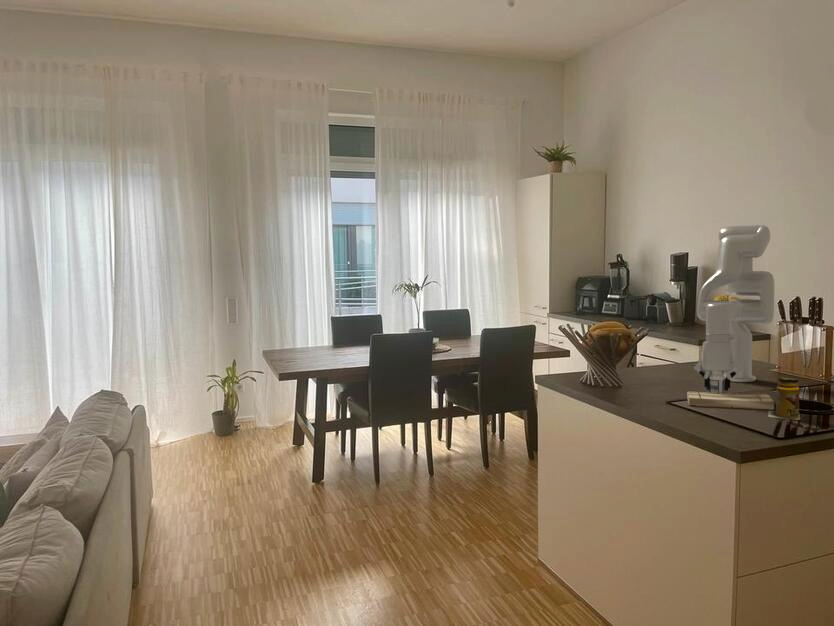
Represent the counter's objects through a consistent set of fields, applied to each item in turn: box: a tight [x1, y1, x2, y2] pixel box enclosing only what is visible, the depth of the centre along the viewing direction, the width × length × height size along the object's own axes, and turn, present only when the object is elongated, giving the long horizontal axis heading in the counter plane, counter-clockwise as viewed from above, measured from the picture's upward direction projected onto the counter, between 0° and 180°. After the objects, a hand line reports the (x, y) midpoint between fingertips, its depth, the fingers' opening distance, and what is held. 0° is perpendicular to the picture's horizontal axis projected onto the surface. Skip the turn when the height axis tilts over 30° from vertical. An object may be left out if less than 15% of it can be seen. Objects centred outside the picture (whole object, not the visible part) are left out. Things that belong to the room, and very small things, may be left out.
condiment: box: [767, 376, 801, 421], centre depth 194 cm, size 7×8×12 cm
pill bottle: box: [708, 371, 726, 393], centre depth 220 cm, size 5×5×9 cm
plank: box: [686, 391, 775, 411], centre depth 211 cm, size 10×25×3 cm, turn 70°
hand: (717, 389), depth 221 cm, fingers closed on pill bottle, 5 cm apart
